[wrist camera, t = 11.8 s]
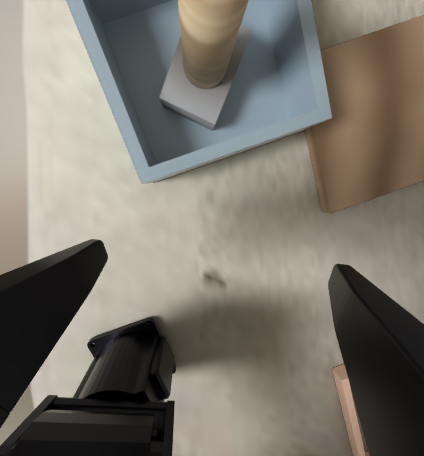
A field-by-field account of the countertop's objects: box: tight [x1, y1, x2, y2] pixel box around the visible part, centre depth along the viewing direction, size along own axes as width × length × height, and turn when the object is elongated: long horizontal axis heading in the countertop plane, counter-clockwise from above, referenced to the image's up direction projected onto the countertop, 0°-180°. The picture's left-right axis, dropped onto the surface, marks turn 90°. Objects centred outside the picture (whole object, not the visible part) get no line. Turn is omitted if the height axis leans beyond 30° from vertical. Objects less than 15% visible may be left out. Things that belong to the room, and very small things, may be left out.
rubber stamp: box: [159, 0, 252, 131], centre depth 10 cm, size 6×4×12 cm, turn 157°
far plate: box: [305, 15, 424, 213], centre depth 18 cm, size 11×12×1 cm
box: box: [66, 0, 332, 184], centre depth 14 cm, size 13×12×4 cm
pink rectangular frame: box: [332, 364, 370, 456], centre depth 25 cm, size 11×16×2 cm
